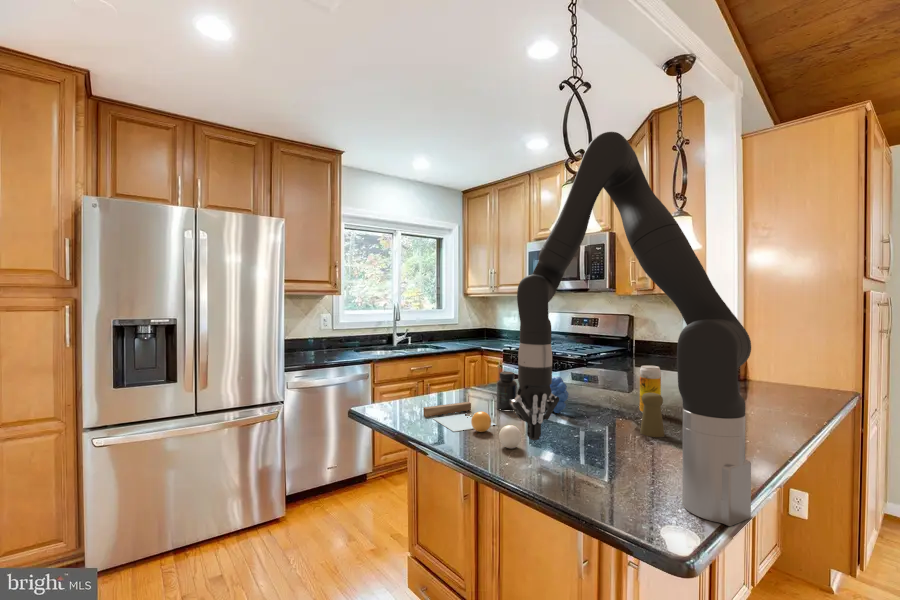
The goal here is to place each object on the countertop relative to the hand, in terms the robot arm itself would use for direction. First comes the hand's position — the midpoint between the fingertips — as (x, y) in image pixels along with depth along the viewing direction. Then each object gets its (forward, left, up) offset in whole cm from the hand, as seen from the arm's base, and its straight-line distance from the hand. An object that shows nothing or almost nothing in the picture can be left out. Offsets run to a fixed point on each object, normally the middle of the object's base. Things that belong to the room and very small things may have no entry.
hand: (534, 439), depth 96 cm
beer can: (+15, -58, -5) cm, 60 cm away
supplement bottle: (+40, -20, -5) cm, 45 cm away
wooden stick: (+44, 0, -5) cm, 44 cm away
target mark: (+33, 0, -5) cm, 33 cm away
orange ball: (+23, 0, -2) cm, 23 cm away
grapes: (+28, -32, -5) cm, 43 cm away
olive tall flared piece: (+1, -41, -5) cm, 41 cm away
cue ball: (+9, 0, -2) cm, 9 cm away
